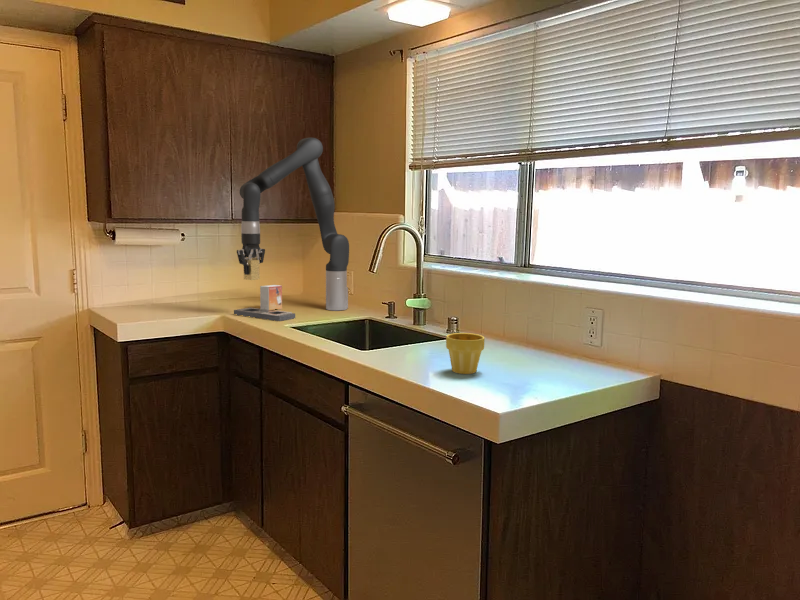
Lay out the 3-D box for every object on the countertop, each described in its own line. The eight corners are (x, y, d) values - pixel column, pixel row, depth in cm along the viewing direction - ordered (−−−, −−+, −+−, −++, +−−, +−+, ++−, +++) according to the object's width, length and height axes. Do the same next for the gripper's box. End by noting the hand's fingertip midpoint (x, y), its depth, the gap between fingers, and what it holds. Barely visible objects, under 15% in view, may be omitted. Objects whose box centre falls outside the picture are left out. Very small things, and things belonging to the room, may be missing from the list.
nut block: (251, 278, 269) (251, 259, 268) (259, 279, 266) (259, 259, 265) (243, 279, 265) (243, 259, 264) (251, 280, 263) (251, 260, 262)
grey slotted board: (250, 312, 275) (250, 306, 274) (295, 318, 260) (295, 312, 260) (233, 314, 267) (233, 309, 267) (279, 321, 253) (279, 315, 253)
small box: (268, 311, 279) (268, 286, 277) (260, 309, 282) (259, 285, 281) (282, 309, 285) (282, 285, 284) (274, 307, 289) (273, 284, 287)
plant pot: (480, 377, 170) (481, 341, 169) (442, 374, 173) (442, 338, 172) (485, 368, 180) (487, 334, 179) (449, 365, 183) (450, 331, 182)
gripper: (243, 233, 255) (244, 276, 258) (270, 232, 267) (270, 273, 269) (230, 232, 259) (232, 274, 262) (257, 231, 271) (258, 272, 273)
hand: (251, 273), depth 266 cm, fingers closed on nut block, 4 cm apart
